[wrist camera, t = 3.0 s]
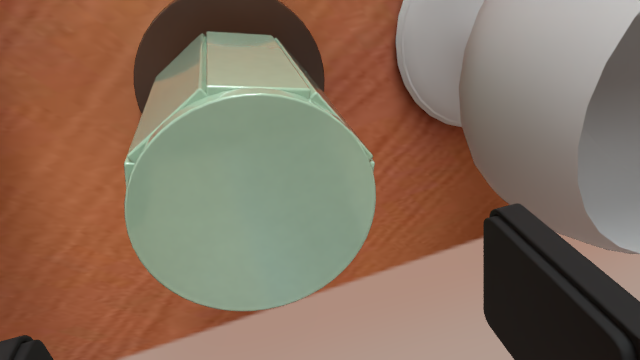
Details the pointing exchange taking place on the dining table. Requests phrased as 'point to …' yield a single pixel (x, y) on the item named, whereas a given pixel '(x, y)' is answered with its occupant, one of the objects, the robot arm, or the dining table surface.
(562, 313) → the robot arm
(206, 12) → the towel holder
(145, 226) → the green cup
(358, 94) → the dining table surface
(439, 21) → the chalice
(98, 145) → the dining table surface
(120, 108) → the dining table surface
